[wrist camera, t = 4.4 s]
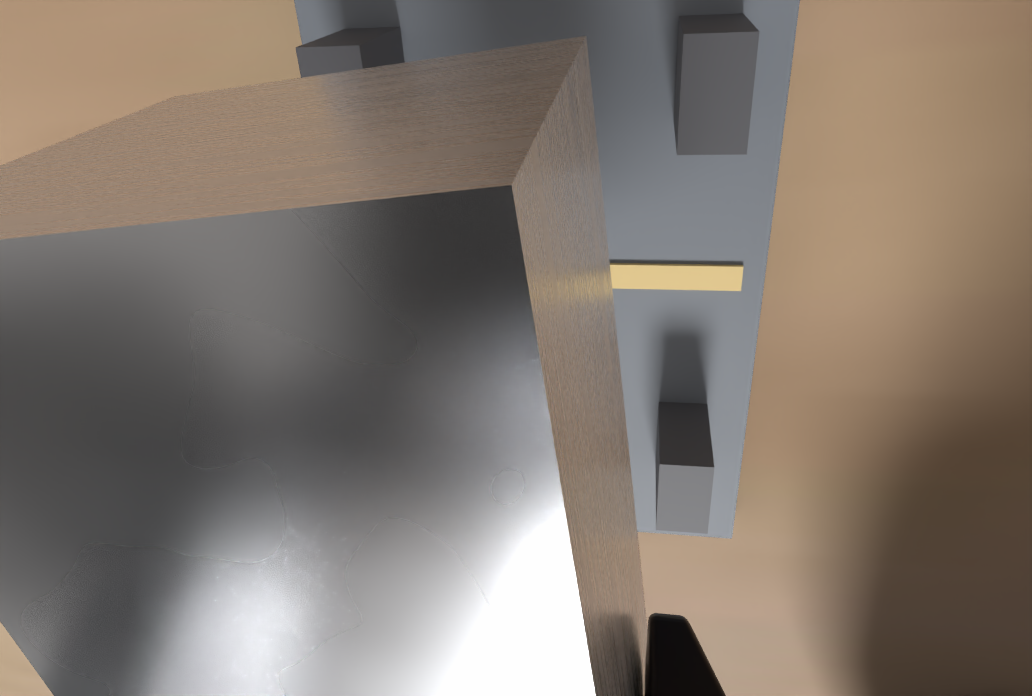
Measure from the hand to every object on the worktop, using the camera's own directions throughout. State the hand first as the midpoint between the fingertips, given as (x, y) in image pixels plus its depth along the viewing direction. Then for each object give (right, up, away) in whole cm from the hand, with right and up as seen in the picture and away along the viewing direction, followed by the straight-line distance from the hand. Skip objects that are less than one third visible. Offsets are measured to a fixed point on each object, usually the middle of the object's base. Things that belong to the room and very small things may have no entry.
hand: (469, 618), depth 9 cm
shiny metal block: (0, +1, +1) cm, 1 cm away
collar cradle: (+1, +5, +10) cm, 11 cm away
